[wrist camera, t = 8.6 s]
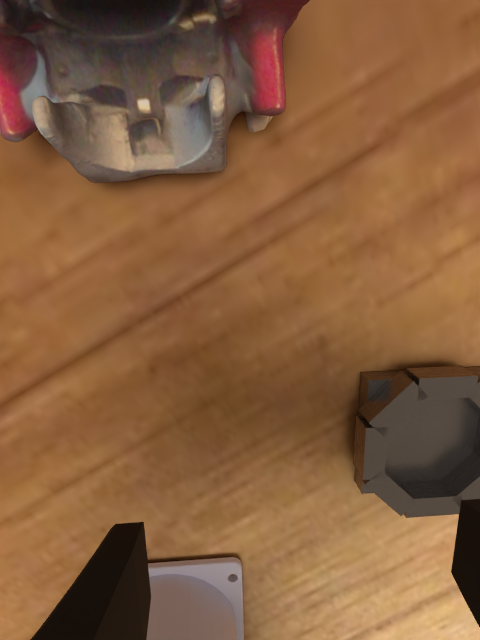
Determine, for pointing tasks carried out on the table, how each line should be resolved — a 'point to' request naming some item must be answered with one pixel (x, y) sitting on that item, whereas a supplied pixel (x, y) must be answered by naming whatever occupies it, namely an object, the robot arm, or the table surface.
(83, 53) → the brake caliper
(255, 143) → the table surface
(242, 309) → the table surface
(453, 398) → the stud mount
